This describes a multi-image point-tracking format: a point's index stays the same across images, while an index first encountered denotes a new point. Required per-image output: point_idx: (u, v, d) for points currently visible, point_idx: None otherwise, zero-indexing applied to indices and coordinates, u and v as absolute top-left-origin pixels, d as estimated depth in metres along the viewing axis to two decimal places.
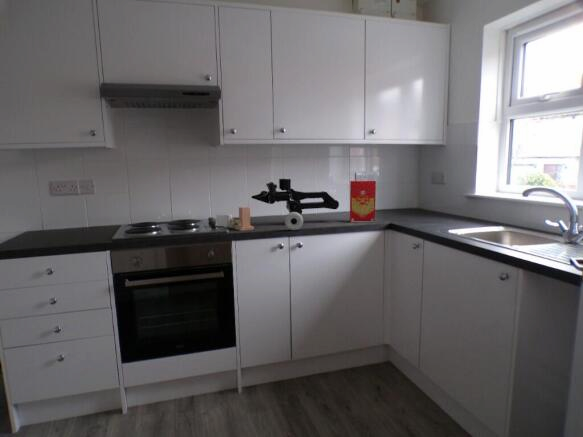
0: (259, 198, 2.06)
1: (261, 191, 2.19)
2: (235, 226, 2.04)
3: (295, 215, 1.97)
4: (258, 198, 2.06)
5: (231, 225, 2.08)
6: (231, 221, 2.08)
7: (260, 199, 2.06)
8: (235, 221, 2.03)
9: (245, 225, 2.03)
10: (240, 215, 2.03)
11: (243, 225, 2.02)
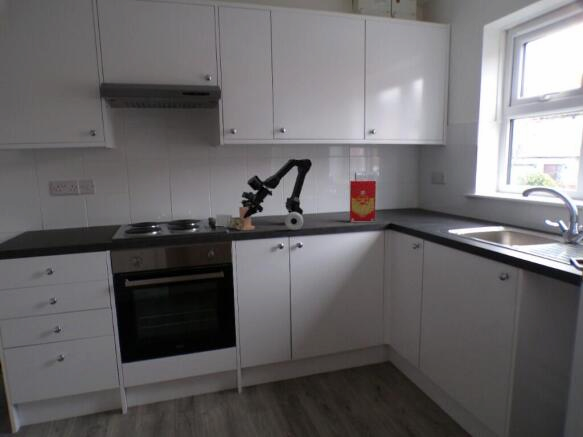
0: (247, 215, 2.01)
1: (242, 204, 2.08)
2: (236, 226, 2.04)
3: (295, 215, 1.97)
4: (246, 215, 2.01)
5: (231, 225, 2.08)
6: (231, 221, 2.08)
7: (248, 215, 2.01)
8: (236, 221, 2.03)
9: (246, 225, 2.03)
10: (241, 214, 2.03)
11: (244, 225, 2.03)
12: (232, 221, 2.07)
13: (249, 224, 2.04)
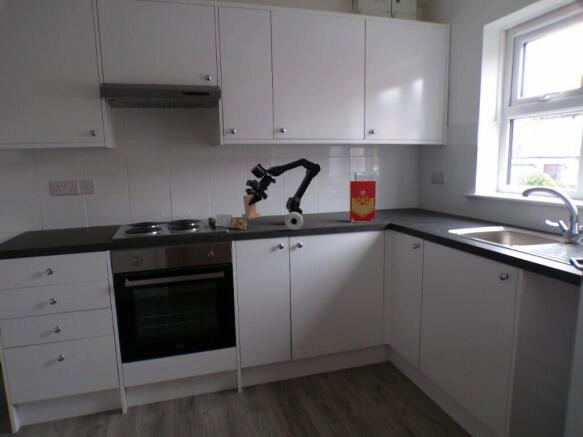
0: (251, 202, 2.04)
1: (246, 192, 2.11)
2: (238, 226, 2.05)
3: (295, 215, 1.97)
4: (251, 203, 2.04)
5: (232, 225, 2.09)
6: (232, 221, 2.08)
7: (253, 202, 2.04)
8: (238, 221, 2.04)
9: (252, 213, 2.06)
10: (246, 203, 2.05)
11: (250, 213, 2.06)
12: (233, 221, 2.08)
13: (255, 212, 2.07)
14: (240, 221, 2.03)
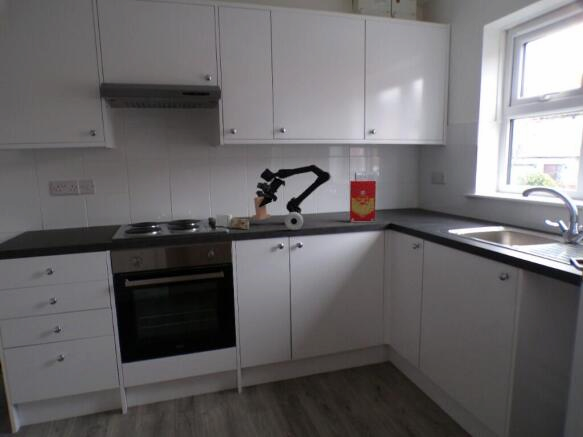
0: (262, 204, 2.13)
1: (257, 194, 2.21)
2: (240, 225, 2.06)
3: (295, 215, 1.97)
4: (261, 204, 2.13)
5: (233, 225, 2.09)
6: (233, 221, 2.08)
7: (263, 204, 2.14)
8: (240, 220, 2.05)
9: (262, 214, 2.16)
10: (257, 205, 2.15)
11: (260, 214, 2.15)
12: (234, 221, 2.08)
13: (265, 213, 2.17)
14: (242, 221, 2.04)
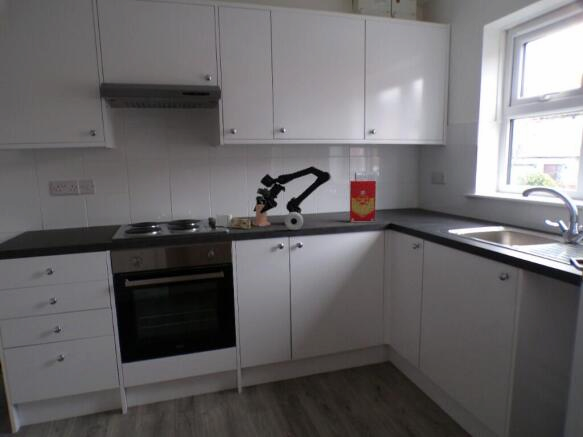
0: (263, 210, 2.12)
1: (256, 199, 2.23)
2: (241, 225, 2.06)
3: (295, 215, 1.97)
4: (262, 211, 2.12)
5: (233, 225, 2.09)
6: (234, 221, 2.09)
7: (265, 210, 2.12)
8: (241, 220, 2.06)
9: (262, 221, 2.17)
10: (258, 211, 2.16)
11: (260, 221, 2.16)
12: (235, 221, 2.08)
13: (265, 220, 2.18)
14: (243, 221, 2.05)
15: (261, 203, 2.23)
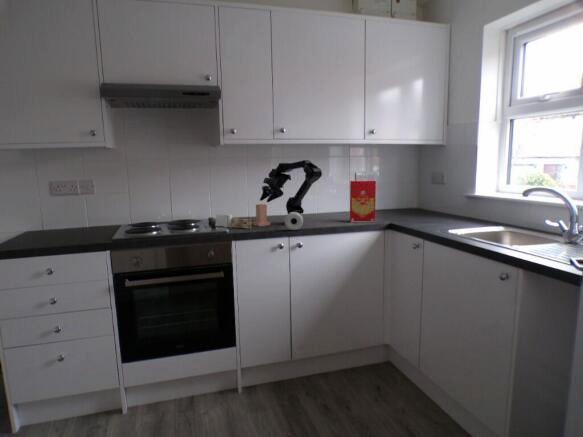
0: (270, 199, 2.17)
1: (262, 189, 2.27)
2: (242, 225, 2.07)
3: (295, 215, 1.97)
4: (269, 199, 2.17)
5: (234, 225, 2.09)
6: (234, 221, 2.09)
7: (271, 199, 2.17)
8: (242, 220, 2.06)
9: (262, 221, 2.17)
10: (258, 211, 2.16)
11: (260, 221, 2.16)
12: (235, 221, 2.08)
13: (265, 220, 2.18)
14: (244, 220, 2.06)
15: (267, 193, 2.27)
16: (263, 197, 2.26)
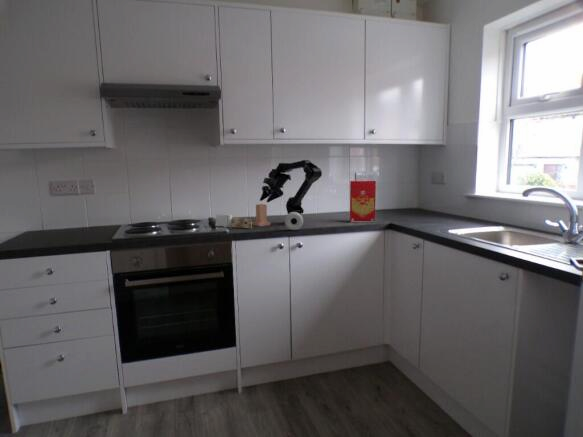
0: (270, 199, 2.17)
1: (262, 189, 2.27)
2: (242, 225, 2.07)
3: (295, 215, 1.97)
4: (269, 199, 2.17)
5: (234, 225, 2.09)
6: (234, 221, 2.09)
7: (271, 199, 2.17)
8: (243, 220, 2.07)
9: (262, 221, 2.17)
10: (258, 211, 2.16)
11: (260, 221, 2.16)
12: (235, 221, 2.09)
13: (265, 220, 2.18)
14: (245, 220, 2.06)
15: (267, 193, 2.27)
16: (263, 197, 2.26)
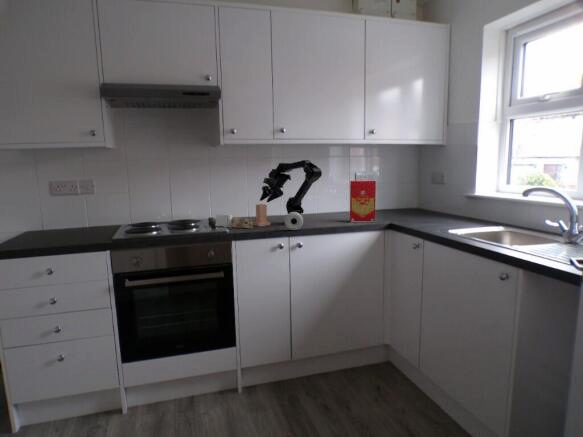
0: (270, 199, 2.17)
1: (262, 189, 2.27)
2: (243, 225, 2.07)
3: (295, 215, 1.97)
4: (269, 199, 2.17)
5: (234, 225, 2.09)
6: (234, 221, 2.09)
7: (271, 199, 2.17)
8: (243, 220, 2.07)
9: (262, 221, 2.17)
10: (258, 211, 2.16)
11: (260, 221, 2.16)
12: (236, 221, 2.09)
13: (265, 220, 2.18)
14: (245, 220, 2.06)
15: (267, 193, 2.27)
16: (263, 197, 2.26)
